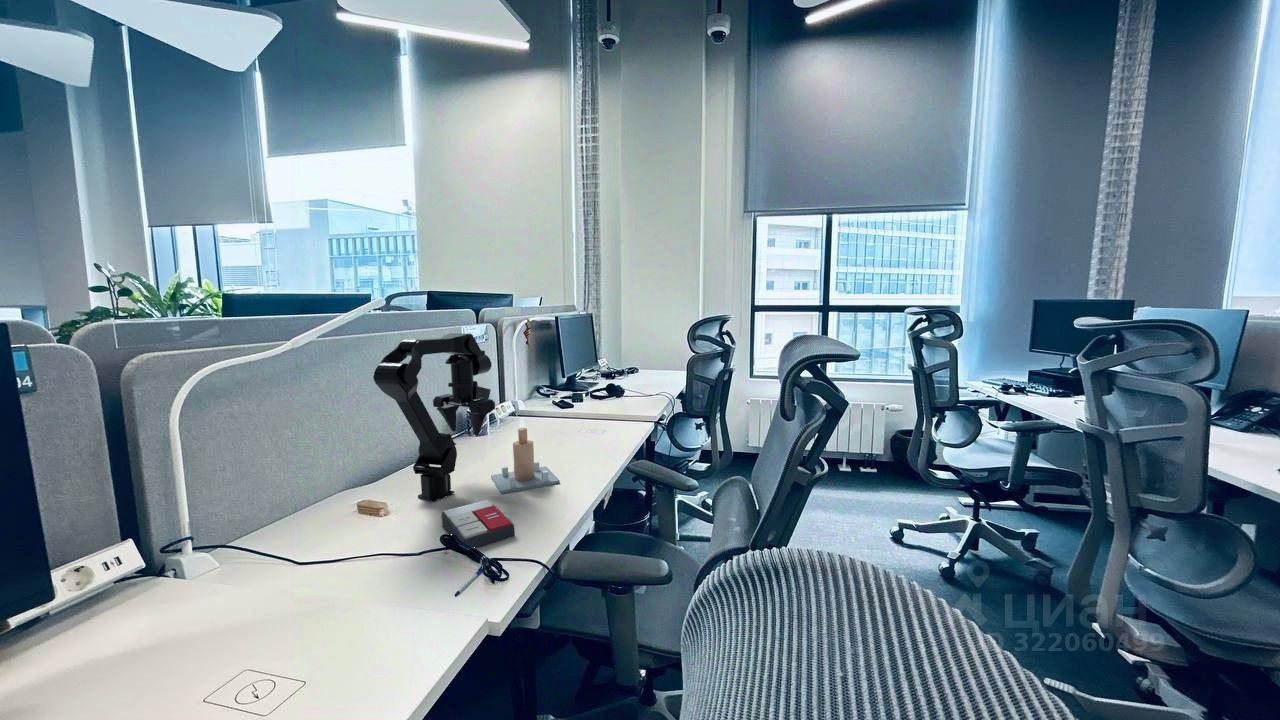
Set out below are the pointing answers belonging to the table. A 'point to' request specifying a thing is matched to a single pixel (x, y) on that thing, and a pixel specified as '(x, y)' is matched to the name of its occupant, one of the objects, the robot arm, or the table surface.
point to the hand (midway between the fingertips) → (465, 433)
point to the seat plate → (509, 484)
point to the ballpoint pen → (469, 581)
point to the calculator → (478, 524)
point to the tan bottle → (523, 457)
